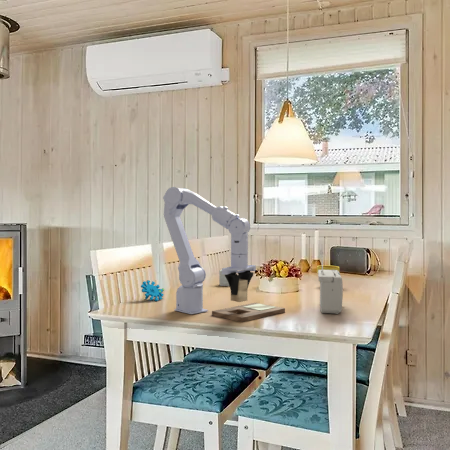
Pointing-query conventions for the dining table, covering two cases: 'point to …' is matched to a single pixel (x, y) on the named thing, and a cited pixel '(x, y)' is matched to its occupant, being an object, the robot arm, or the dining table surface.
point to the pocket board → (248, 312)
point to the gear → (152, 290)
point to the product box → (222, 279)
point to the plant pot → (327, 268)
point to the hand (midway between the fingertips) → (239, 293)
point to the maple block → (241, 291)
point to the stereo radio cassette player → (330, 290)
